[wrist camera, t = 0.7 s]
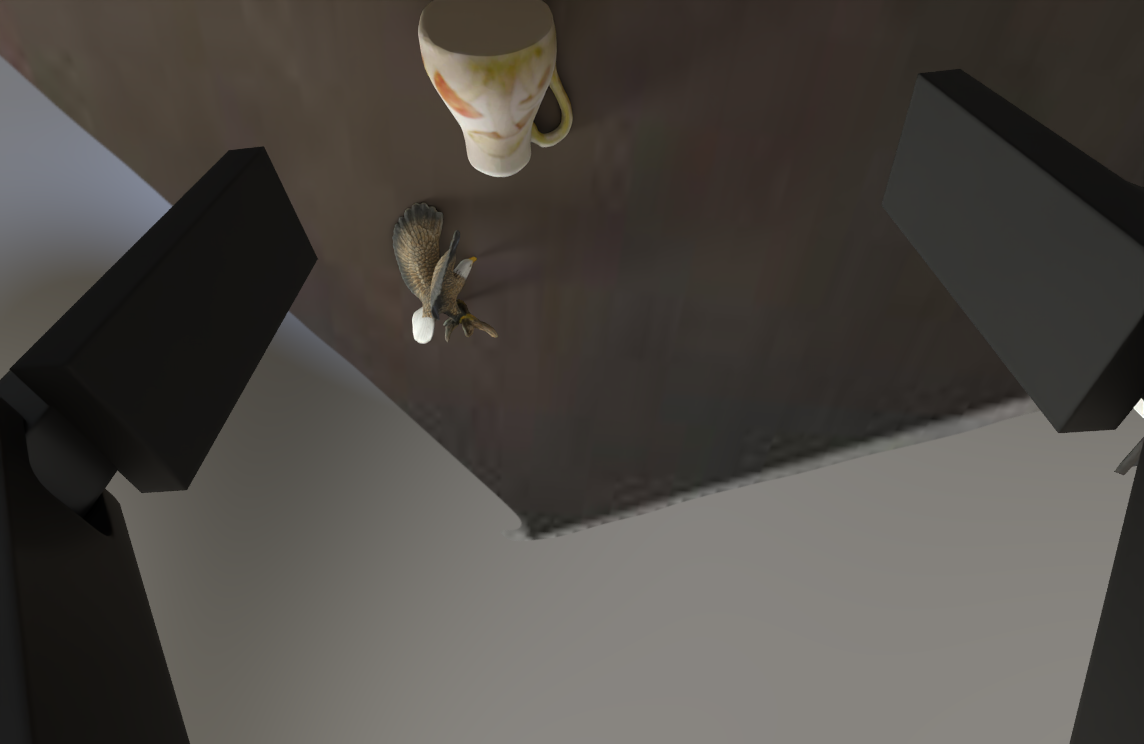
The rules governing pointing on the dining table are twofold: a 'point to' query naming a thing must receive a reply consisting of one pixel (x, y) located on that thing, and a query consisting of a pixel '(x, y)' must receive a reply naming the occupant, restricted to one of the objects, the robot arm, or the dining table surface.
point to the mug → (494, 75)
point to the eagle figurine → (433, 273)
